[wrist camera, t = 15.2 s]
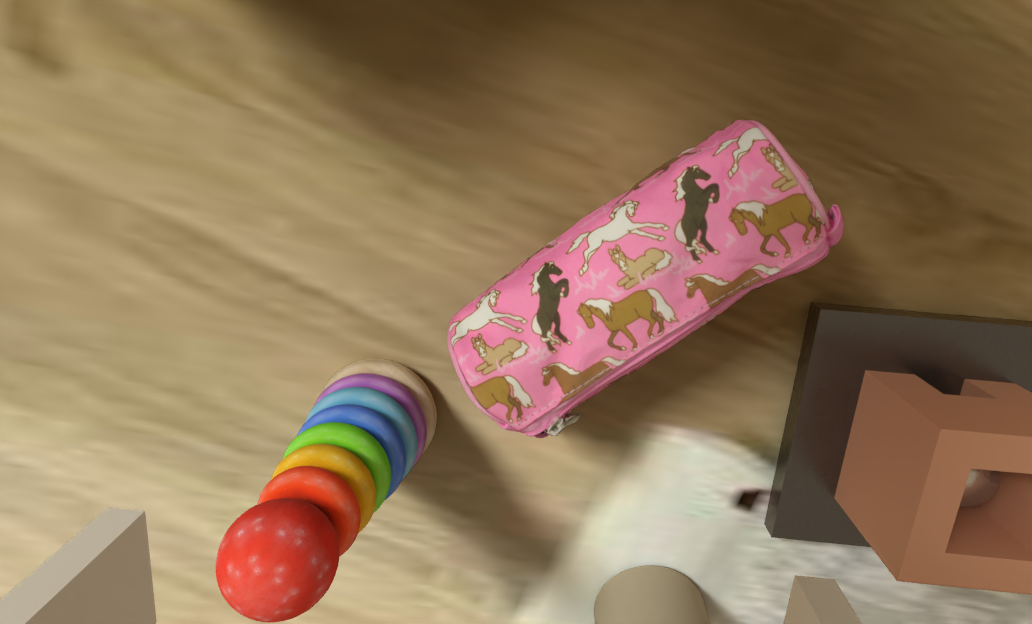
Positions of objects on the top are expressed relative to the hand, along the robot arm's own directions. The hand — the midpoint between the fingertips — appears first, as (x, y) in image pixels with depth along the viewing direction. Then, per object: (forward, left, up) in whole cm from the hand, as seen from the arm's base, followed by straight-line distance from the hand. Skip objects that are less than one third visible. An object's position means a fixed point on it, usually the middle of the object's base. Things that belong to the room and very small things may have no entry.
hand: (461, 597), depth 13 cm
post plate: (+8, +26, -29) cm, 40 cm away
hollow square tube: (+8, +26, -27) cm, 38 cm away
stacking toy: (+10, -9, -29) cm, 32 cm away
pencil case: (-1, +6, -29) cm, 30 cm away
